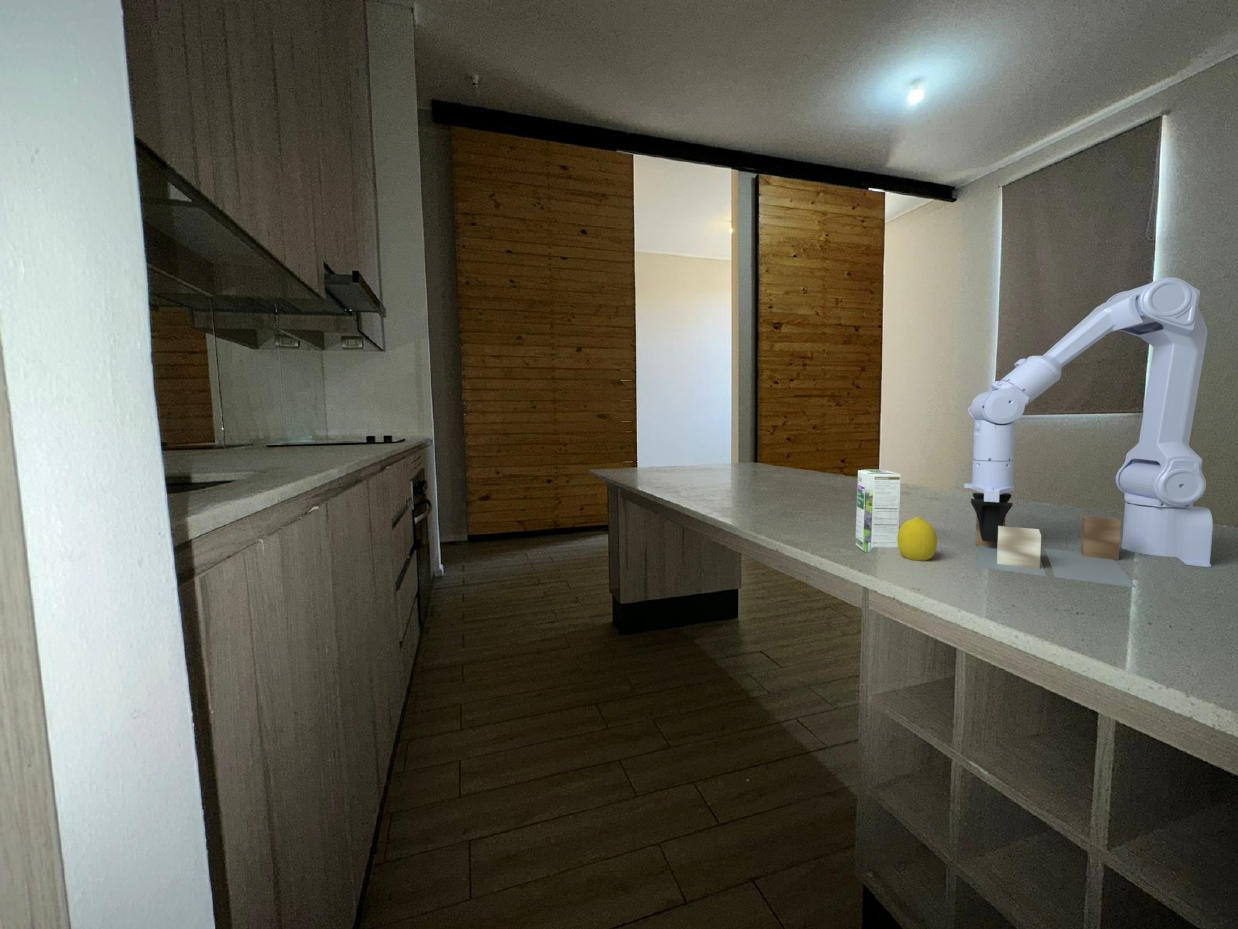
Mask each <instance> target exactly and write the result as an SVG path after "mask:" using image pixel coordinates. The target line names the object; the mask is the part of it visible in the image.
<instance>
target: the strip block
mask: <svg viewBox="0 0 1238 929" xmlns="http://www.w3.org/2000/svg"><path fill="white" fill-rule="evenodd" d="M975 514H976V513H975ZM975 516H976V517H975V520H976V522H975V540H974V541H975V543H974V544H975V546H978V551H977V559H976V560H977V561H976V568H980V569H988V570H997V571H1003V572H1011V573H1018V574H1027V575H1034V576H1035V575H1036V576H1043V577H1046V576H1047V575H1046V572H1045V569H1044V565H1043V563H1042V558H1040V569H1036V568H1028V567H1020V566H1012V565H1004V564H997V543H998V541H997V542H988V541H982V538H981V534H980V528H979V522H978V517H977V514H976V515H975ZM1002 526H1006V518H1005V519H1004V522H1003V525H1002Z"/></svg>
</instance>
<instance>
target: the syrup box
mask: <svg viewBox="0 0 1238 929" xmlns="http://www.w3.org/2000/svg"><path fill="white" fill-rule="evenodd" d="M901 484H902V473H898V472H895V471H890V470H887V469H877V468H876V469H875V468H874V469H873V468H872V469H871V468H870V469H868V468H867V469H860V470H859V469H858V470H857V489H856V493H857V494H856V514H855V515H856V517H855V521H856V522H855V547H858V548H859V549H861V550H862V551H863V552H864V553H870V551H872V549H873V548H898V542H897V538H898V532H899V529H900V515H901V514H900V512H901V511H900V510H901V492H902V491H901V490H902V489H901V488H902V485H901Z"/></svg>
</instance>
